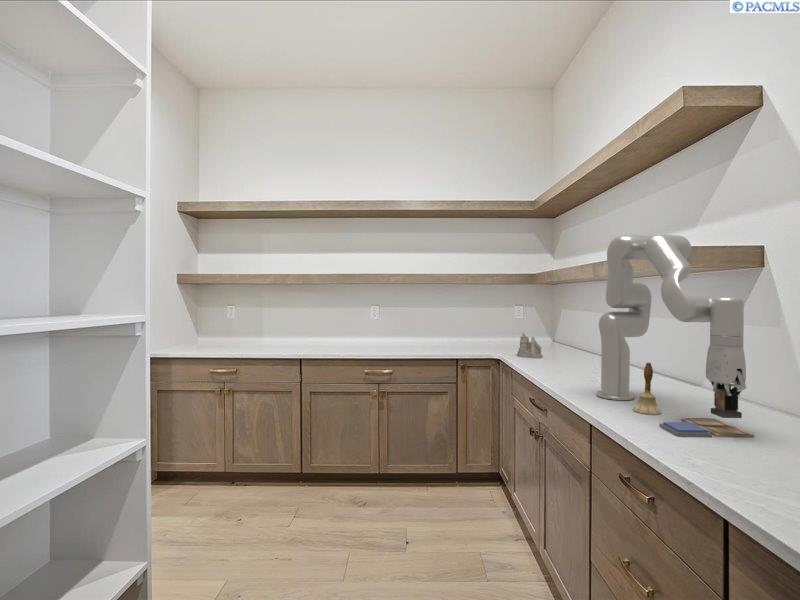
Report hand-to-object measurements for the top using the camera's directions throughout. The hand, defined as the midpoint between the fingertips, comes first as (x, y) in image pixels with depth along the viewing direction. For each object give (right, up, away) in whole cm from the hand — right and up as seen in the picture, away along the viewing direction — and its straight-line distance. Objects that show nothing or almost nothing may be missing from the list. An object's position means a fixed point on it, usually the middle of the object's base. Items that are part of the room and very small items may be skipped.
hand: (725, 407), depth 127 cm
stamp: (0, -2, 0) cm, 2 cm away
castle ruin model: (-10, -5, +154) cm, 155 cm away
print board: (0, -7, +4) cm, 8 cm away
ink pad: (-11, -7, 0) cm, 13 cm away
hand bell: (-10, -7, +22) cm, 25 cm away
